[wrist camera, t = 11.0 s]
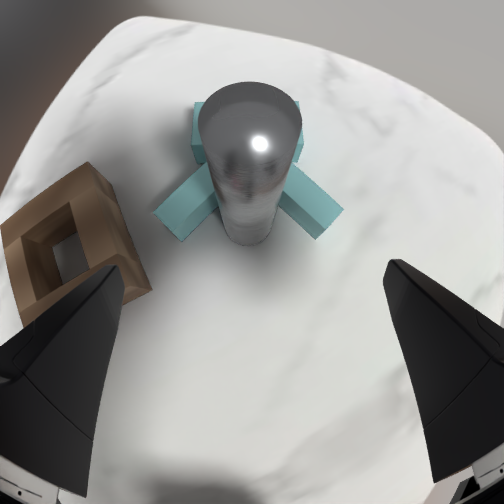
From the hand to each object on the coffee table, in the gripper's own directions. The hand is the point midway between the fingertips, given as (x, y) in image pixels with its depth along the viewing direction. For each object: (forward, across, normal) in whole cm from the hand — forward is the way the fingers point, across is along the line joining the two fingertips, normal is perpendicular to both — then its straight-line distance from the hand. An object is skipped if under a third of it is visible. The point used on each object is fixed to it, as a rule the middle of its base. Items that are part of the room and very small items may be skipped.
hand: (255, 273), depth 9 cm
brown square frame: (+10, +14, +7) cm, 18 cm away
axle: (+12, 0, +5) cm, 13 cm away
